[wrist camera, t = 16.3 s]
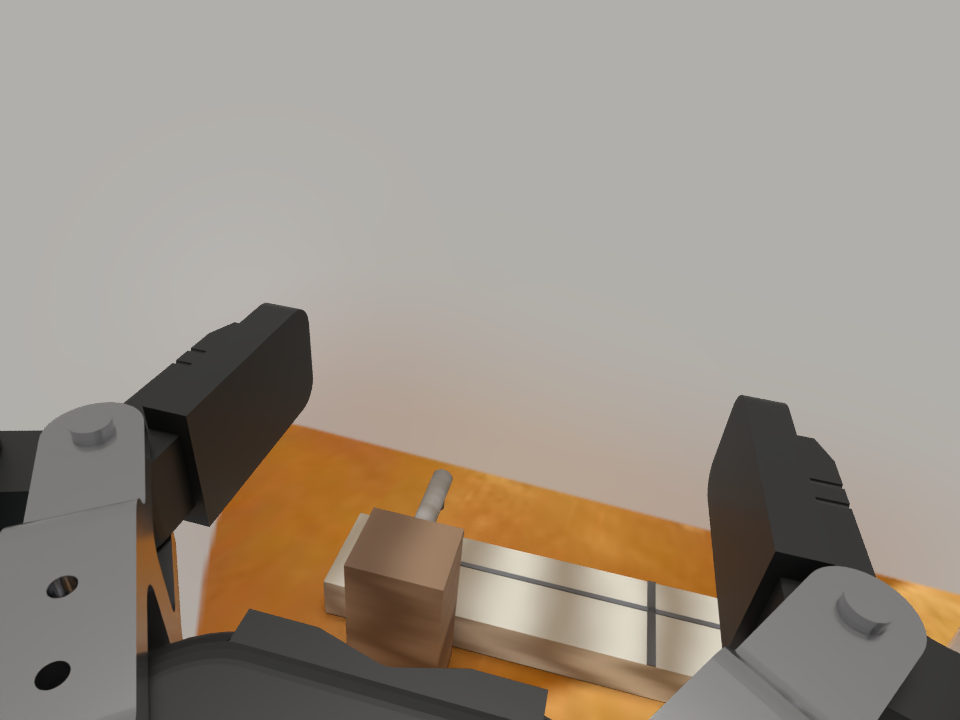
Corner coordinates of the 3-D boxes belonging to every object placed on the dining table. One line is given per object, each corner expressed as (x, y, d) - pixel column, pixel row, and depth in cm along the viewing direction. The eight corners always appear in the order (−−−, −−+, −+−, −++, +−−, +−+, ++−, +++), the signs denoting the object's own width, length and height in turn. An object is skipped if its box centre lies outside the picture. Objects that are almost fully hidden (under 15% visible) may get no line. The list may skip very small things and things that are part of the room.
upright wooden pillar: (470, 588, 43) (485, 467, 38) (432, 717, 36) (443, 590, 30) (400, 571, 44) (404, 449, 38) (349, 693, 37) (343, 565, 31)
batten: (795, 649, 42) (813, 620, 40) (815, 742, 37) (836, 712, 35) (361, 542, 46) (360, 511, 44) (325, 612, 41) (323, 580, 39)
